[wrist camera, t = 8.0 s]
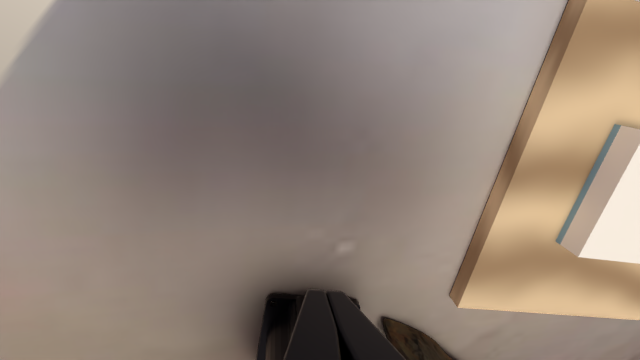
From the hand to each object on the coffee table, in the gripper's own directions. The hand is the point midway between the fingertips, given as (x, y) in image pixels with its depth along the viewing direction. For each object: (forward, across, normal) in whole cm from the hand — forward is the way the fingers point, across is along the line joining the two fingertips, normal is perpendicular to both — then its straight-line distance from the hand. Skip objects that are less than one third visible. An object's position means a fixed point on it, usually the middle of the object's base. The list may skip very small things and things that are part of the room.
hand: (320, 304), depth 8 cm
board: (+12, -21, -1) cm, 24 cm away
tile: (+10, -18, -1) cm, 21 cm away
